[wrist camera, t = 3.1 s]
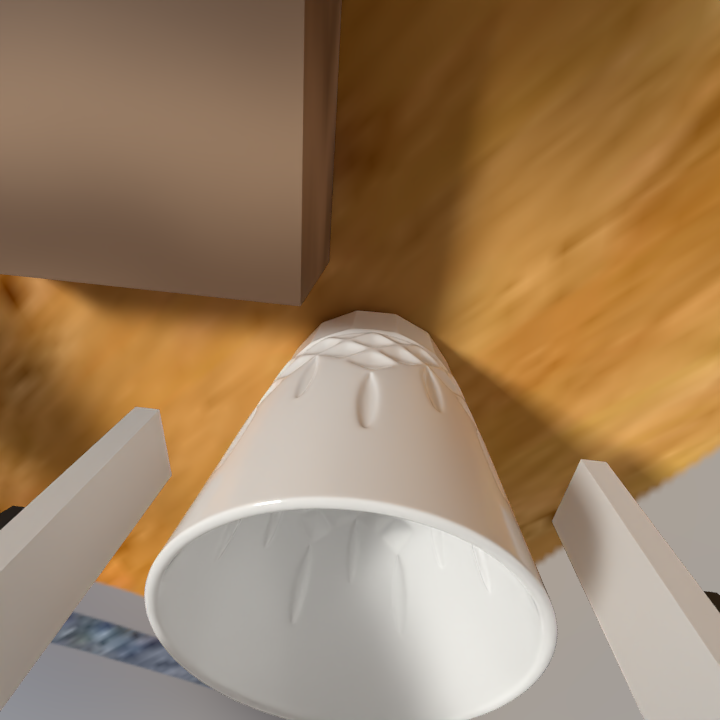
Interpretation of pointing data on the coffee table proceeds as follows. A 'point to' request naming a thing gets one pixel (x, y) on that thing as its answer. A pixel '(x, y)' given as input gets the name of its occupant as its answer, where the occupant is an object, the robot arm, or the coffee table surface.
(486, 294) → the coffee table surface
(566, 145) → the coffee table surface
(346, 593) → the white cup
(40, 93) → the walnut block
